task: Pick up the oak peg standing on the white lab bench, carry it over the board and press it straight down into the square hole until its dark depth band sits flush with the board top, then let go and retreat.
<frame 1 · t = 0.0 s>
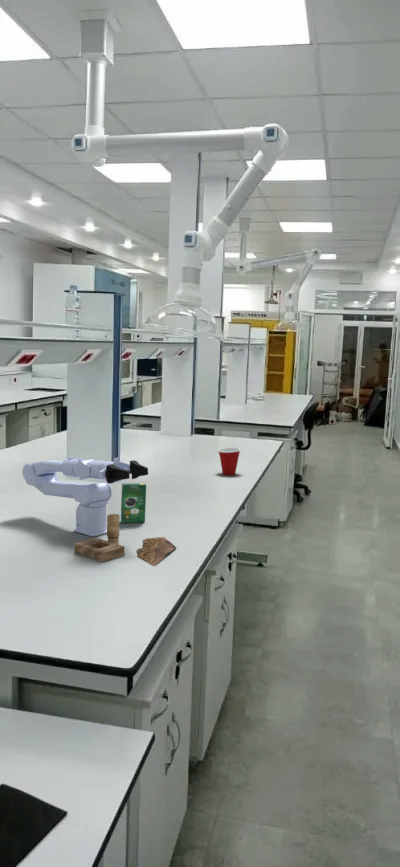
hand: (138, 473, 190), 22 cm above the table, tool horizontal, fingers open, 7 cm apart
wooden fragment: (156, 552, 188), on the table
peg: (113, 545, 192), on the table
board: (99, 553, 184), on the table
coffee box: (133, 522, 218), on the table
plastic cup: (228, 474, 302), on the table
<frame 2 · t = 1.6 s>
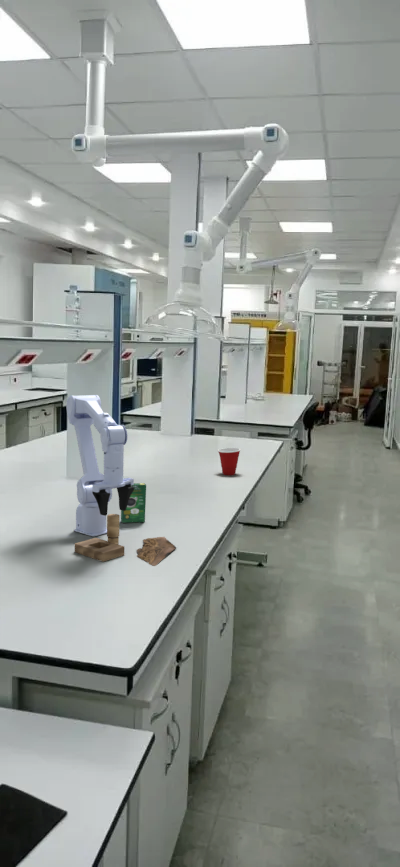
hand: (113, 512, 191), 10 cm above the table, tool pointing down, fingers open, 7 cm apart
nothing on the table moved.
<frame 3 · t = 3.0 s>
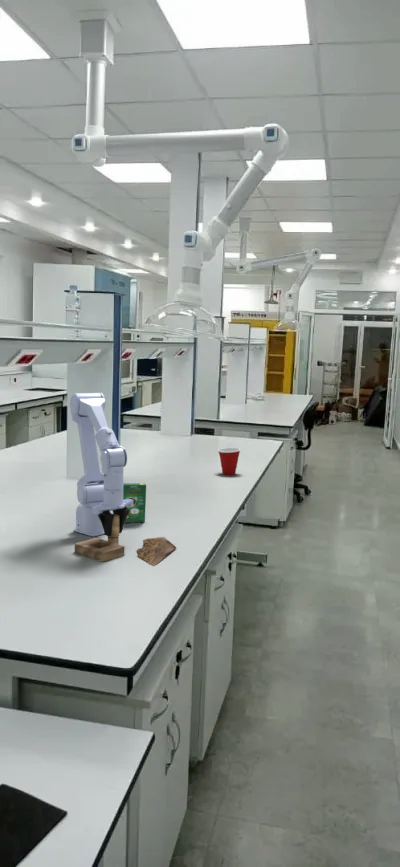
hand: (113, 533, 192), 3 cm above the table, tool pointing down, fingers closed on peg, 4 cm apart
peg: (113, 545, 192), on the table, touching gripper
everything else where it was.
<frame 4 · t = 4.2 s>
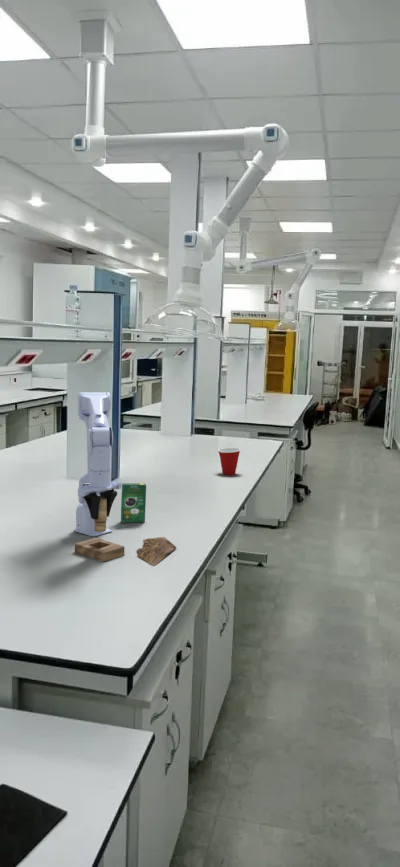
hand: (100, 517, 183), 10 cm above the table, tool pointing down, fingers closed on peg, 4 cm apart
peg: (100, 530, 183), point 7 cm above the table, touching gripper
everything else where it was.
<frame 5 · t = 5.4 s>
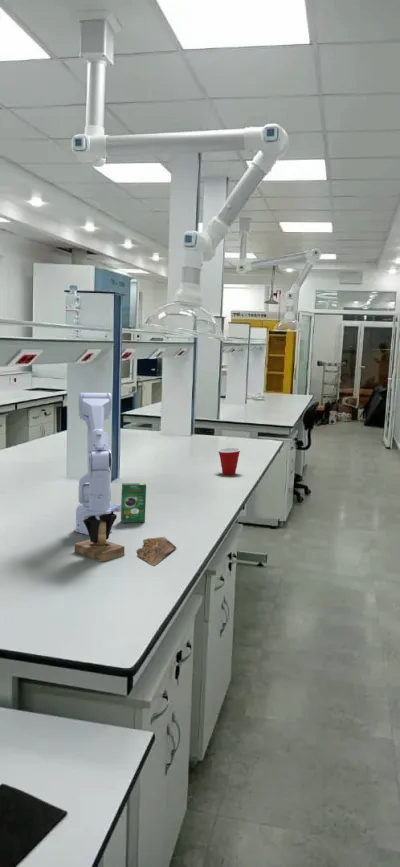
hand: (99, 540, 183), 4 cm above the table, tool pointing down, fingers closed on peg, 4 cm apart
peg: (99, 553, 184), resting in board, touching gripper
everything else where it was.
when the fingers open (4 cm above the table, at t = 5.8 s): peg stays where it is, resting in board.
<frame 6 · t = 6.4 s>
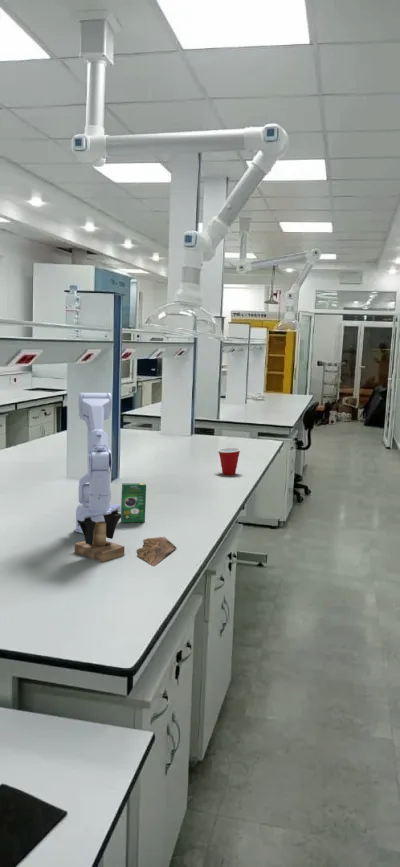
hand: (99, 540, 184), 4 cm above the table, tool pointing down, fingers open, 7 cm apart
peg: (99, 553, 184), resting in board
everything else where it was.
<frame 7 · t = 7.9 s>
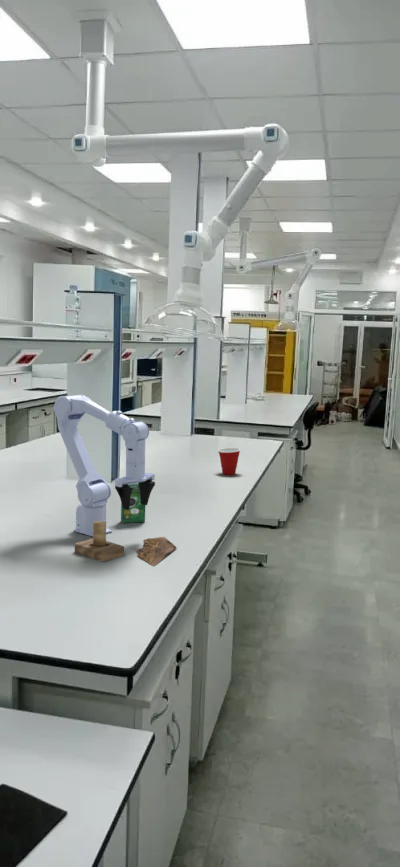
hand: (135, 506, 196), 10 cm above the table, tool pointing down, fingers open, 7 cm apart
nothing on the table moved.
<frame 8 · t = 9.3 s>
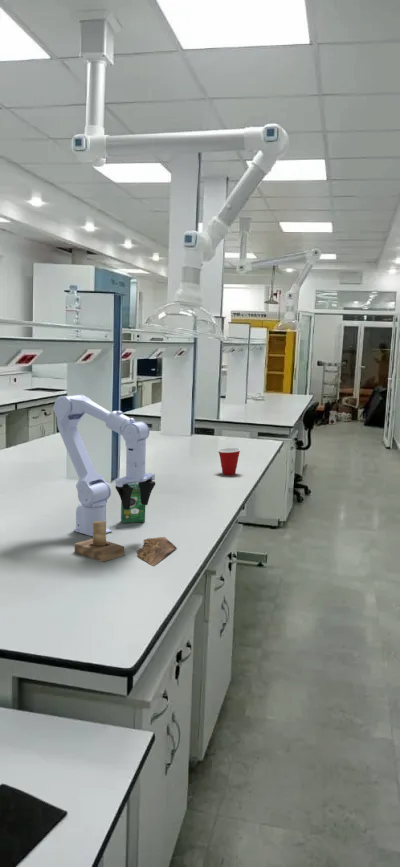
hand: (135, 506, 196), 10 cm above the table, tool pointing down, fingers open, 7 cm apart
nothing on the table moved.
at the end: peg 0.1 cm off-centre on the board, point 0.0 cm above the board's base; peg tilted 0°; the gripper is holding nothing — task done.
